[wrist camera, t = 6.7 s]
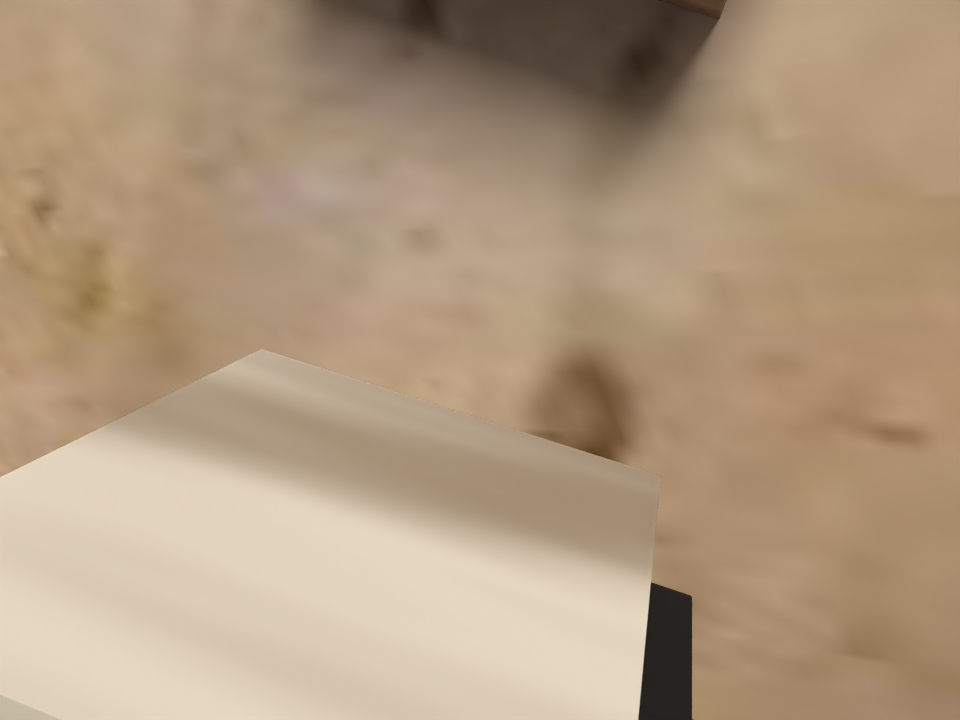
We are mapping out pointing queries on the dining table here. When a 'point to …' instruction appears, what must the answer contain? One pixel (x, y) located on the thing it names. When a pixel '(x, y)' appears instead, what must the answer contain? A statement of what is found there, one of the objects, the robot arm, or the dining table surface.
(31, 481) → the maple cube
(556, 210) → the dining table surface
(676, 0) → the walnut block
